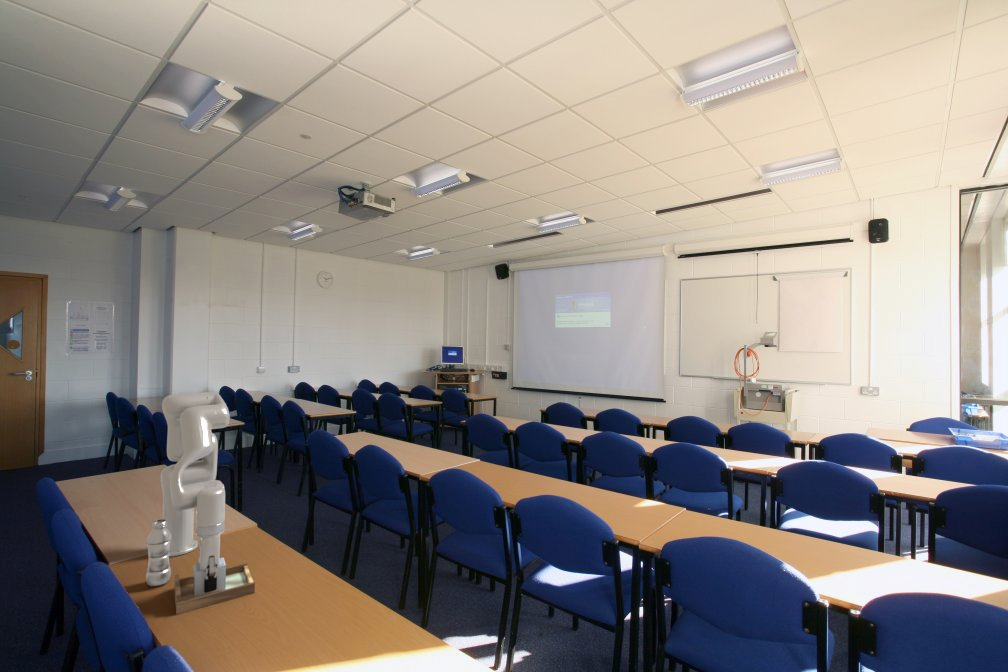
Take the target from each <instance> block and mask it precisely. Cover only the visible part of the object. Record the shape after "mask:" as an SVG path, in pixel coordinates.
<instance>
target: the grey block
mask: <svg viewBox="0 0 1008 672" xmlns="http://www.w3.org/2000/svg"><path fill="white" fill-rule="evenodd" d="M207 568H209V566H207ZM226 568H227V565H226V561H225V557H220V558H219V566H218V567H217V568H216V576H217V589H216V590H214V591H210V592H207V593H205V592H204V579H206V577H205V570H203V571H200V568H199V562H197V563H193V576H194V581H193V589H194V596H195V597H198V596H201V595H205V594H209V593H213V592H217V591H220V590H224V589H225V588H226ZM208 573H209V570H208Z"/></svg>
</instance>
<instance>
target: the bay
mask: <svg viewBox="0 0 1008 672" xmlns="http://www.w3.org/2000/svg"><path fill="white" fill-rule="evenodd" d="M193 581H194V575H190V576H187V577H186V576H185V577H182V578H180V574H179V573H178V574H175V575H174V586H173V587H174V588H173V589H174V590H173V591H174V600H175V603H174V604H175V611H176V612H175V614H176V616H177V615H180V614H184V613H187V612H188V613H189V612H192V611H194V610H198V609H202V608H205V607H209V606H212V605H217V604H219V603H223V602H227V601H230V600H234V599H237V598H241V597H244V596H249V595H252V594H255V593H256V592H255V588H256V583H255V582H254V580H253V577H252V574H251V572H250V570H249V567H248V562H244V563H243V562H242V563H240V564H235V565H232V566H226V588H225V589H224V590H220V591H217V592H213V593H209V594H205V595H201V596H198V597H195V596H194V589H193Z"/></svg>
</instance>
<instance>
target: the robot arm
mask: <svg viewBox="0 0 1008 672" xmlns="http://www.w3.org/2000/svg"><path fill="white" fill-rule="evenodd" d="M161 403H162V404H161V408H162V412H163V415H164V418H165V420H166V424H167V437H166V438H167V439H166V456H167V458H168V460H169V461H171V462H176V463H175V464H174V463H173V464H171V465H168V466H166V467H165V468H163V469H162V470H161V472H160V485H161V491H162V493H161V494H162V519H166V524H167V526H166V528H167V529H168V530H169V532H170V533H171V542H170V547H169V558H170V557H176V556H182V555H185V554H188V553H191V552H192V551H194V550H196V549H197V548H198V563H199V568H200V571H203V570H205V577H206V579H204V592H205V593H207V592H210V591H214V590H216V589H217V576H216V568H217V567H218V566H219V558H221V556H220V555H221V535H222V534H223V533H224V532H225V531H226V530H225V528H226V527H225V523H226V522H225V521H226V519H225V518H226V489H225V485H224V483H223V482H222V481H221V480H218V479H217V472H218V455H219V441H218V438H217V436H216V434H215V433H213V432H212V430H216V429H224V428H226V427H228V425H229V424H230V420H231V416H230V410H229V407H228V406H227V403H226V402H225V400H224V399H223V398H222V396H221V394H219V393H218V392H214V391H205V392H186V393H176V394H175V393H174V394H170V395H167V396H165V397H164V398H163V400H162V402H161ZM195 509H196V524H195V522H194V521H195ZM194 524H195V525H196V526H195V525H194ZM194 527H196V528H195V529H194ZM194 531H195V533H194ZM194 534H195V536H196V537H197V538H198V540H196V539H194ZM207 566H209V568H207ZM208 570H209V573H208Z"/></svg>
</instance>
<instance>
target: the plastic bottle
mask: <svg viewBox="0 0 1008 672" xmlns="http://www.w3.org/2000/svg"><path fill="white" fill-rule="evenodd" d="M166 526H167V524H166V519H163V518H162V519H156V520H154V521H152V524H151V529H152V530H151V531H150V532H149V534H148V535H147V537H146V547H147V555H148V556H147V557H148V563H147V570H146V576H145V583H146V584H147V585H148V586H149V587H157V586H162V585H165V584H166V583H168V582H169V581H170V578H171V575H172V570H171V566H170V557H169V547H170V542H171V533H170V532H169V530H168V529H167V528H166Z"/></svg>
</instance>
